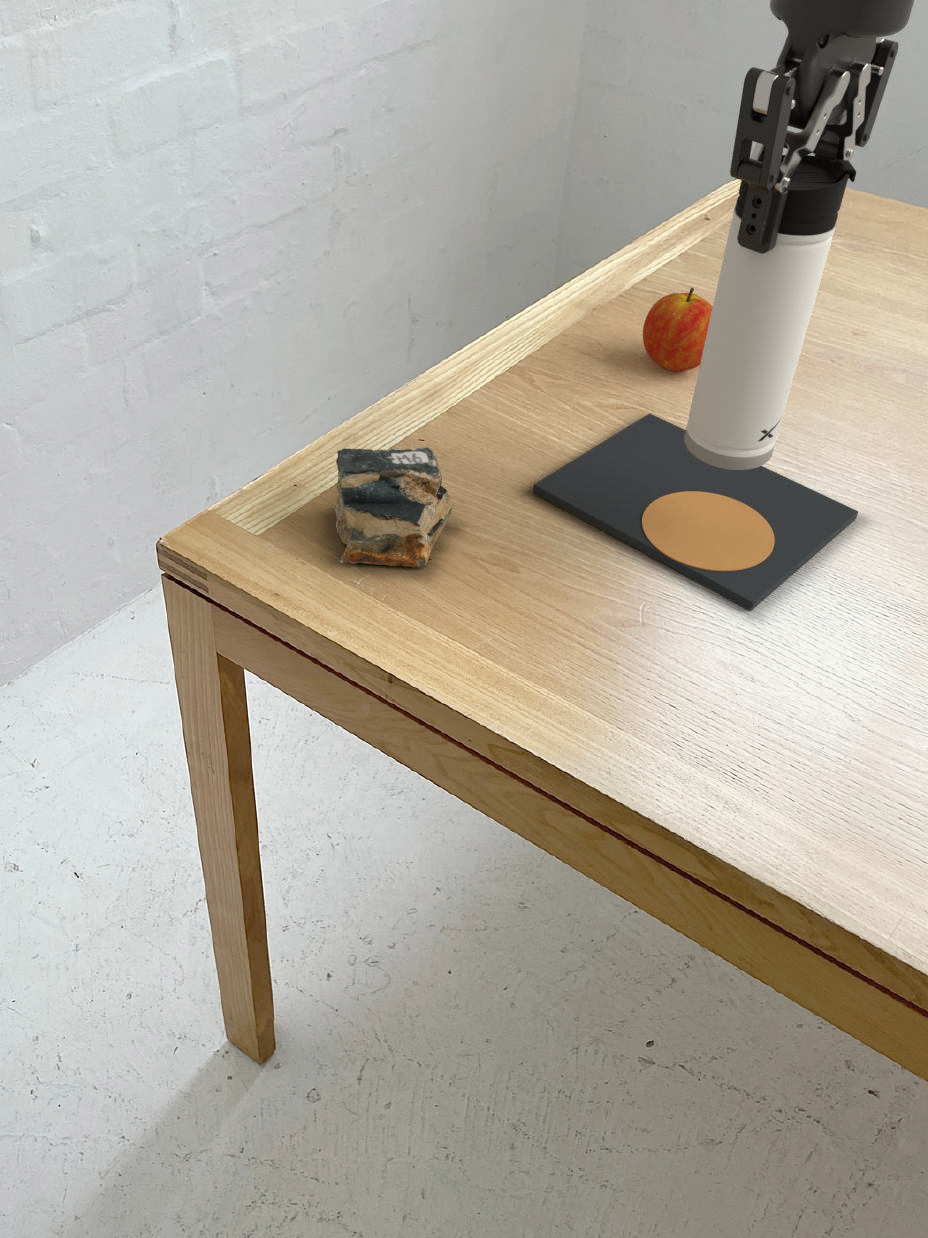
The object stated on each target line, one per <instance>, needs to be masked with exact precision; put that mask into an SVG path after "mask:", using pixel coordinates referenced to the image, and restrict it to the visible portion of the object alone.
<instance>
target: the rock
mask: <svg viewBox="0 0 928 1238" xmlns="http://www.w3.org/2000/svg"><path fill="white" fill-rule="evenodd" d="M336 453H337V457H336V461H335V463H336V468H337V483H336V490H337V493H338V495H337V499H336V503H335V505H334V512H335V514H336V516H335V517H336V520H335V528H336V533H337V534H338V537H340V541H341V542H342V544H345V545H346V546H345V550H344V551H343V553H342V555H341V557H340V559H341V560H340V561H339V562H340V563H341V564H342V563H348V562H349V564H352V565H356V564H360V563H361V564H366V565H367V564H368V565H376V566H377V565H379V566H389V567H398V566H402V567H405V568H406V567H411V568H424V567H426V566H427V565H428V561H429V559H430V557H431V553H432V552H433V550H434V548H435V547H436V546H437V545H438V543H439V538H440V536H441V534H442V532H443V530H444V529H445V526H446V525H447V522H448V521H449V520H450V518H451V517H452V516H453V512H452V510H453V508H454V502H453V498H452V497H451V495H450V494H449V492H448V490H447V488H444V487H443V485H442V481H443V480H442V479H443V478H442V473H441V469H440V466H439V462H438V459H437V455H436V454H435V452H434V450H432V449H431V448H429V447H423V446H422V447H415V448H389V449H384V448H383V449H381V448H379V449H371V448H342V449H339V450H337V452H336Z"/></svg>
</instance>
